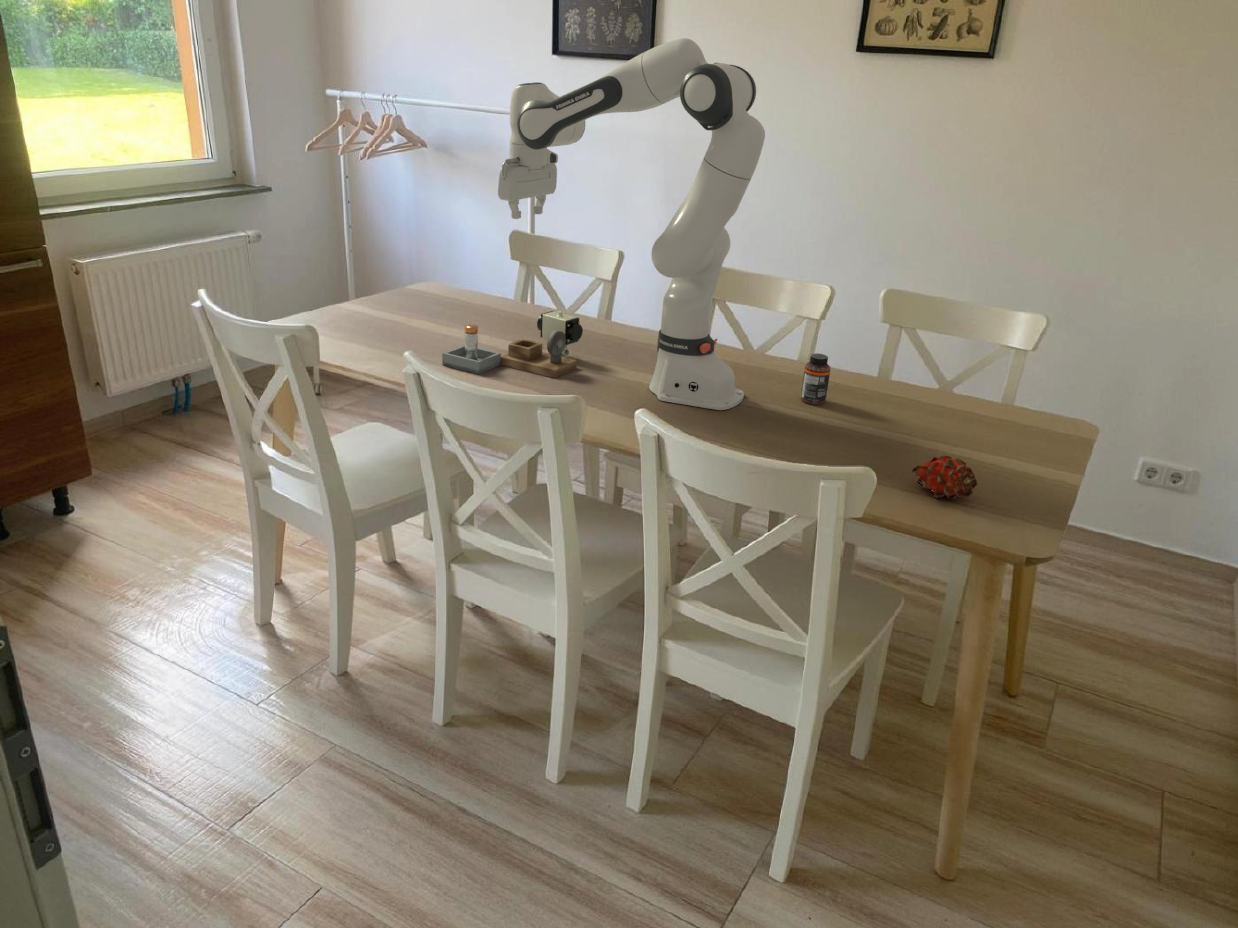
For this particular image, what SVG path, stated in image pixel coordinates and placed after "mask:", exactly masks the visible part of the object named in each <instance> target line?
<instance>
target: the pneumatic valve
mask: <svg viewBox="0 0 1238 928" xmlns="http://www.w3.org/2000/svg"><path fill="white" fill-rule="evenodd" d="M538 317H539V318H538V320H537V321H536V327H537V329H538V331H539V334H540V336H539V337H540V338H542V339H544V340H545V339H546V340H548V338H549V336H550V334H551V332H553V331H554V330H557V331H561V332H563V333H564V334H565V337H566V343H565V347H564V350H563V352H562V357H566V358H569V355H570V349H569V345H570V344H571V345H572V344H575V343H578V342H579V340H580V339H581V338H582V336H583V326H582V325H581V324H580V323H581V322H580V318H579V316H578V317H577V316H573V315H572V314H567V313H563V311H560V310H558V311H554V310H551V311H545V312H543V313H542V312H541V313H540V315H539V316H538Z"/></svg>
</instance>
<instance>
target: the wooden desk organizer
mask: <svg viewBox="0 0 1238 928" xmlns="http://www.w3.org/2000/svg"><path fill="white" fill-rule="evenodd" d="M565 343H566V337H565V334H564V333H563V332H561V331H557V330H554V331H553V332H551V334H550V336H549V338H548V339H547V343H546V348H547V352H545V351H543V343H542V342H540V341H539V342H538V341H534V340H530V339H525V338H522V339H518V340H515V341H513V342H511V343H509V344H508V349H507V350H508V353H507V354H505V355H501V365H500V366H504V367H507V368H508V367H509V368H513V369H517V370H521V371H524V372H529V373H533V374H537V375H540V376H544V377H545V376H546V377H550V378H553V379H556V378H558V377H560V376H561V375H562V376H563V375H564V374H566V373H568V372H570V371H572V370H575V369H576V368H577V362H578V360H577V359H574V358H570V357H562V352H563V350H564V347H565Z"/></svg>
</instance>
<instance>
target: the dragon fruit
mask: <svg viewBox="0 0 1238 928" xmlns="http://www.w3.org/2000/svg"><path fill="white" fill-rule="evenodd" d="M914 472H915V475H916V476H918V478H916V483H917V484H918V485H919V486H920V487H921V488H923V489H928V490H929V491H930V490H933V491H934V492H935V493H934V492H933V497H934V498H935V497H936V498H935V499H938V498H943V497H944V496H946V499H948V500H955V498H956V499H957V497H960V498H963V497H970V496H971V495H972V494H974V492H973V489H975V487H977V485H978V481H977V478H976V475H975V472H974V471H973V470H972V468H971V467H970V466H967V463H966V462H965V461H964V460H963V459H962V458H960V457H956V458H955V459H953V458H952V457H951V456H950V455H947V454H946V455H945V454H943V455H940V457H936V456H934V457H932V459H931V460H930V461H927V462H923V463H922V464H918V465H916V466H915V467H913V469H911V473H914Z"/></svg>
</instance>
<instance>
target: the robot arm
mask: <svg viewBox="0 0 1238 928" xmlns="http://www.w3.org/2000/svg"><path fill="white" fill-rule="evenodd" d="M756 96H757V86H756V82H755V79H754V77H753V76H752V74H750V73H749V72H748V71H747V70H746V69H745V68H743V67H741V66H738V65H734V64H727V63H723V62H722V63H721V62H713V63H709V62H708V61H707V60H706V58H705V55H704V53H703V51H702V49H701V48H700V47H699V45H698V43H696V42H695V41H694V40H693V39H689V38H679V39H675V40H671V41H668V42H665V43H662V44H660V45H659V44H658V45H657V46H655V47H652V48H649V49H648V50H646V51H644V52H642V53H639V54H637V55H636V56H634V57H633V58H631V59H629V60H627V61H626V62H624V63H622V64H621V65H619V66H618V67H616V68H615V69H613V70H611V71H610V72H609V71H608V73H606V74H604V75H602V76H600V77H599V78H598V79H596V80H593V81H592V82H590V83H588V84H585V85H584V86H581V87H579V88H576V89H574V90H572V91H569V92H568V93H565V94H564V95H561V96H559V95H557V94H555V92H553V91H552V90H550V88H549V87H548V86H547V85H546V84H545V83H543V82H526V83H525V82H524V83H521V84H517V85H516V86H515V87H513V90H512V93H511V99H510V106H509V125H510V126H509V127H510V128H511V129H510V130H511V131H510V132H511V133H510V134H511V135H510V138H509V158H506V159H505V160H504V162H503V164H502V165H501V168H500V171H499V176H498V186H497V196H498V198H499V200H501V201H505V202H507V201H508V206H509V208H510V211H511V218H512V220H514V219H515V220H518V219H521V218H522V211H521V210H520V209H519V204H520V200H524V199H529V198H535V199H536V201H535V205H534V206H533V210H532V211H533V214H534V215H542V214H543V212H544V210H543V207H544V206H545V202H546V200H547V196H548V195H553V194H554V193H555V191H556V189H557V179H558V169H557V163H558V162H559V155H558V154H557V153H556V152H553V150H551V149H549V148H551V147H561V146H569V145H572V144H575V143H577V142H578V141H580V140H581V139H582V137H583V136H584V133H585V130H586V120H588V119H592V118H593V117H596V116H599V115H605V114H612V113H613V114H614V113H617V114H618V113H637V112H642V111H647V110H650V109H654V108H657V107H660V106H662V105H665V104H666V103H669V102H671V101H673V100H675V99H676V98H679V99H680V101H681V102H680V103H681V105H682V107H683V109H684V110H685V111H686V112H687V114H689V116H690V117H692V118H693V119H694V120H696V121H697V123H698V124H700V126H701V127H702V128H703V129H704V130H705V131H711V138H710V142H709V145H708V146H707V150H706V151H705V153H704V157H703V159H702V162H700V166H699V168H698V171H697V172H696V175H695V177H694V180H693V182H692V185H691V187H690V189H689V191H688V193H687V194H686V196H685V198H684V199H683V201H682V203H681V204H680V205H679V207H678V209H677V210H676V212H675V213H674V215H673V216H672V218H671V220H670V221H669V223H668V224H667V227H666V228H665V230H664V231H663V232H662V233H661V235H660V236H659V237H657V239H656V240H655V241H654V243H653V245H652V248H651V261H652V264H653V266H654V268H655V269H656V271H657V272H658V273H659V274H661V275H662V276H663V277H666V278H670V279H671V278H672V279H671V281H670V284H669V286H668V289H667V290H666V292H665V294H664V296H663V301H662V313H661V324H660V329H659V331H658V336H657V337H658V338H657V342H656V343H657V348H656V350H657V351H656V352H657V358H656V359H657V360H656V364H655V367H654V372H653V375H652V377H651V380H650V384H649V386H648V388H649V390H650V392H651V393H653V394H654V395H656V396H657V398H658V400H659V401H662V402H666V403H667V402H668V403H674V404H681V405H686V406H692V407H697V408H698V407H699V408H703V409H711V410H716V411H723V410H729V409H732V408H734V407H737V406H738V405H740V404H741V402H742V401H743V400H744V397H745V394H744V391H743V390H742V389H739V388H737V387H736V377H735V373H734V370H733V369H732V368H731V367H730V366H729V365H728V364H727V363H726V362H725V361H724V360H723V359H722V358H721V357H720V356H719V355H718V354H717V353H716V351H715V345H716V344H718V338H715V339H713V338H712V337H711V335H710V334H709V328H710V321H711V320H710V319H711V311H712V303H713V298H714V295H715V291H716V287H717V284H718V281H719V278H720V273H721V271H722V267H723V264H724V263H725V262H724V260H725V259H726V258H727V255H728V254H729V252H730V248H731V237H730V234H729V233H728V231H727V229H726V228H725V227H726V225H727V224H728V223H729V221H730V220H731V218H733V216H734V215H735V214H736V212H737V210H738V209H739V207H740V204H741V202H742V200H743V197H744V195H745V193H746V191H747V188H748V187H749V184H750V182H751V180H752V178H753V176H754V173H755V171H756V168H757V165H758V163H759V160H760V157H761V154H762V150H763V146H764V143H765V139H766V130H765V128H764V126H763V124H762V123H761V122H760V121H759V119H757V118H756V117H755V116H754V115H753V116H752V115H750V113H748V112H749V111H750V110H751V108H752V106H753V105H754V104H755V99H756Z"/></svg>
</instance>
